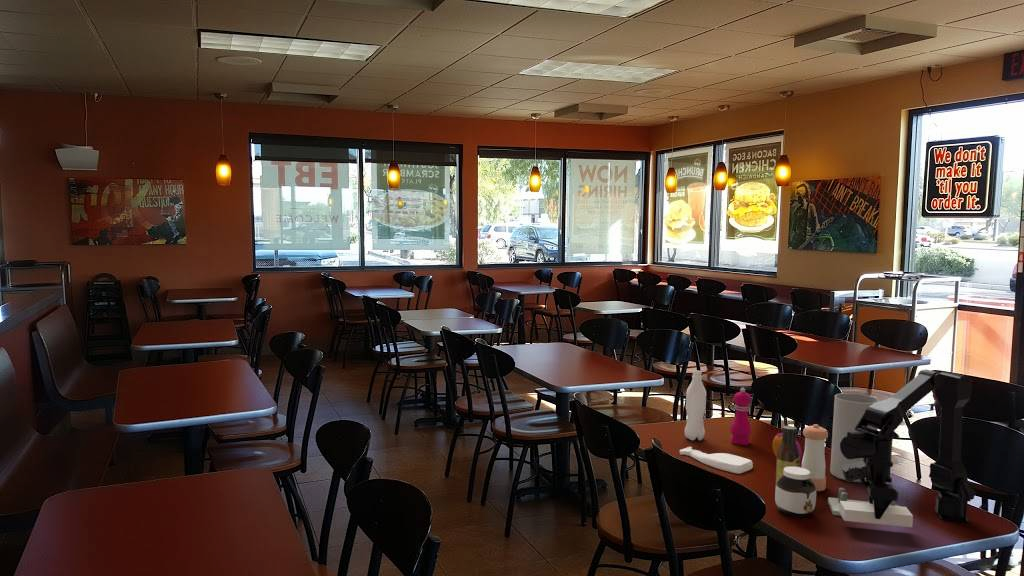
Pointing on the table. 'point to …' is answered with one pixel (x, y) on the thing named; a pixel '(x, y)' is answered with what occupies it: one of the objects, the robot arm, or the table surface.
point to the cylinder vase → (846, 426)
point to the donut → (777, 443)
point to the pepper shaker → (815, 455)
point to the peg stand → (835, 502)
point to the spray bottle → (720, 460)
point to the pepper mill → (741, 419)
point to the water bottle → (695, 407)
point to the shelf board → (866, 514)
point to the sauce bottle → (787, 451)
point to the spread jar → (795, 492)
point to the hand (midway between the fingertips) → (875, 513)
